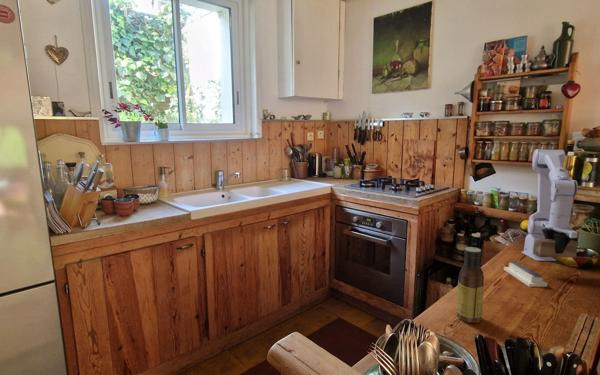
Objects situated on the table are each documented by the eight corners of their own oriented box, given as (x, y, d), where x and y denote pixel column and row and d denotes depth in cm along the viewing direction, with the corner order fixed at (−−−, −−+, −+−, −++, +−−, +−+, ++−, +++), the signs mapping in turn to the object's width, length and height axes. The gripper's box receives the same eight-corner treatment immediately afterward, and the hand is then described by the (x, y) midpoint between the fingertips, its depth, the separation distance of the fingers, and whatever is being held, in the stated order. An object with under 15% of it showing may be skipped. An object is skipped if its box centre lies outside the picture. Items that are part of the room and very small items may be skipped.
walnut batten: (532, 253, 124) (534, 239, 123) (568, 253, 124) (570, 239, 123) (539, 257, 120) (541, 242, 119) (575, 257, 120) (578, 242, 119)
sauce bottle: (475, 312, 97) (482, 245, 93) (485, 325, 90) (493, 253, 87) (451, 311, 97) (457, 244, 94) (459, 323, 91) (466, 252, 88)
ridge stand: (503, 269, 127) (504, 260, 126) (519, 269, 127) (520, 260, 126) (529, 286, 113) (530, 276, 112) (547, 286, 113) (548, 276, 113)
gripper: (534, 209, 126) (529, 244, 129) (564, 219, 112) (559, 258, 114) (553, 209, 127) (548, 244, 129) (586, 219, 112) (580, 258, 115)
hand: (554, 251), depth 122 cm, fingers closed on walnut batten, 3 cm apart
